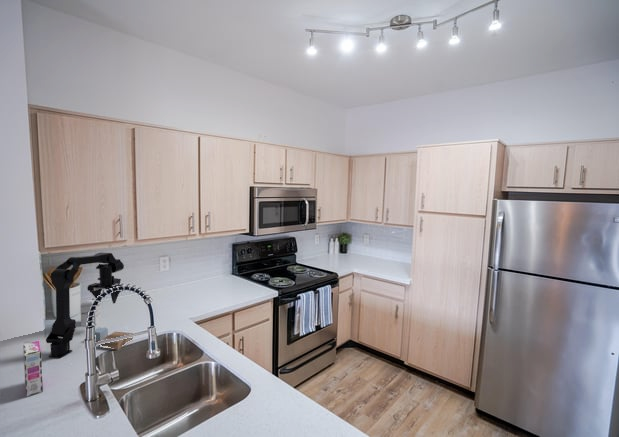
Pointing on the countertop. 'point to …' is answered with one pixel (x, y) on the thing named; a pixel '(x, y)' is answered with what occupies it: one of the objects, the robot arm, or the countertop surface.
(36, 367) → the candy bar box
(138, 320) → the countertop surface
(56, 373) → the countertop surface
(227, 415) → the countertop surface
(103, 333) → the slate cube
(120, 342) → the walnut block
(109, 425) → the countertop surface
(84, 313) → the supplement box
